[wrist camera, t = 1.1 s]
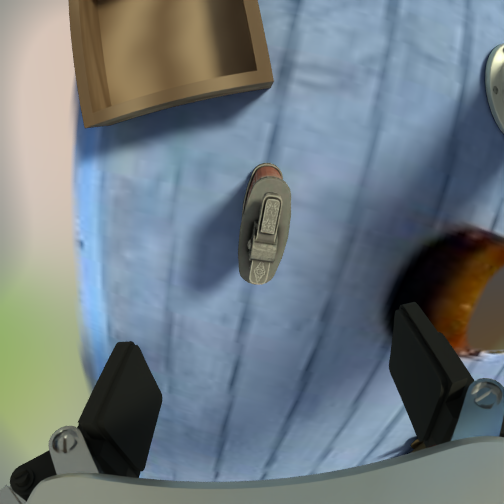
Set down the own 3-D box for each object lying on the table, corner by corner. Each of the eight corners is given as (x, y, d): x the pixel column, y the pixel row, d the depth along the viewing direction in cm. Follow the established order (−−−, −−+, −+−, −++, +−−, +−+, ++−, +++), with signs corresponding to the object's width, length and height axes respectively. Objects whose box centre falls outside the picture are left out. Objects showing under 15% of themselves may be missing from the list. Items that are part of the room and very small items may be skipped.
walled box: (241, -49, 19) (239, -75, 15) (270, 88, 25) (273, 81, 20) (91, -7, 20) (67, -21, 16) (109, 125, 26) (84, 128, 22)
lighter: (271, 248, 31) (278, 305, 22) (236, 243, 31) (229, 298, 22) (288, 166, 28) (305, 190, 19) (250, 159, 28) (248, 180, 19)
